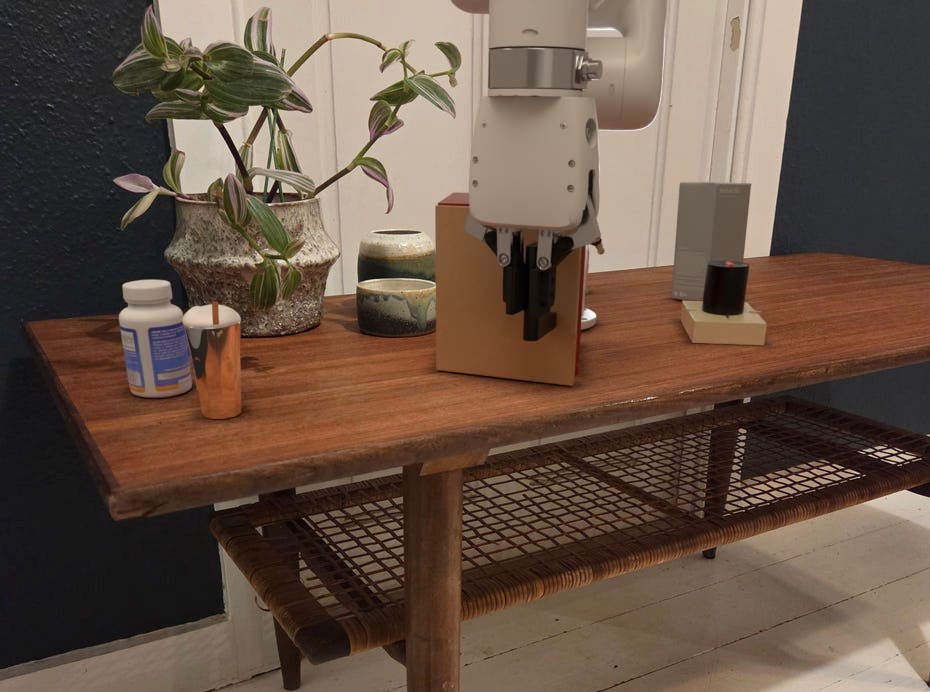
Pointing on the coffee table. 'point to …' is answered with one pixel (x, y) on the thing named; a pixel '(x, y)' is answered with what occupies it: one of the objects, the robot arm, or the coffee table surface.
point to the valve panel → (723, 325)
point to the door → (500, 309)
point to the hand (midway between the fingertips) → (528, 312)
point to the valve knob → (725, 287)
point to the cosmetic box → (707, 232)
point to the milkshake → (215, 358)
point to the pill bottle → (154, 341)
